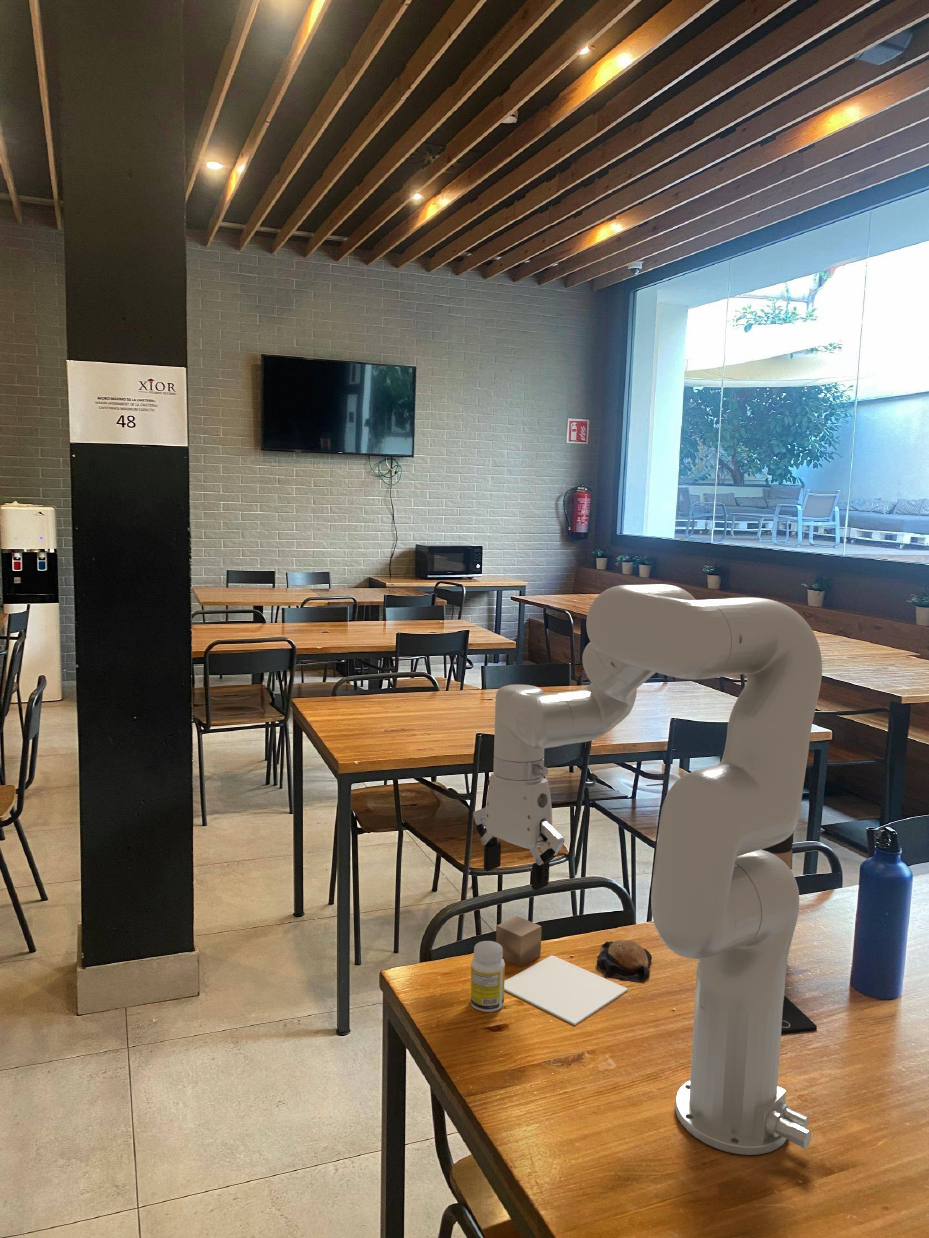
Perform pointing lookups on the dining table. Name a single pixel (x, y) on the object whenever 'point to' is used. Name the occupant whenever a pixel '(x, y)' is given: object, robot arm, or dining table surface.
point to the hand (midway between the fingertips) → (515, 877)
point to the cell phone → (795, 1019)
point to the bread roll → (624, 961)
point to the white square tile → (563, 989)
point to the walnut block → (519, 940)
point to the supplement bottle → (487, 977)
